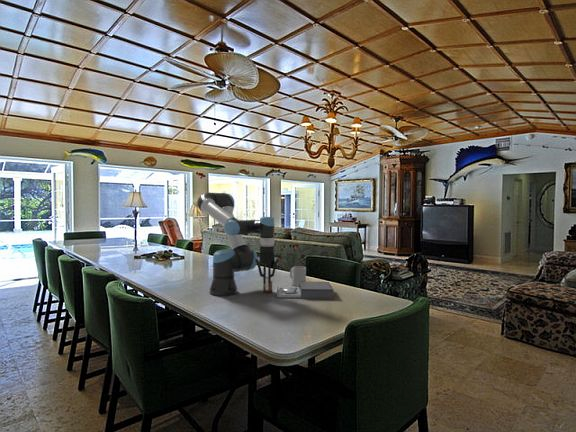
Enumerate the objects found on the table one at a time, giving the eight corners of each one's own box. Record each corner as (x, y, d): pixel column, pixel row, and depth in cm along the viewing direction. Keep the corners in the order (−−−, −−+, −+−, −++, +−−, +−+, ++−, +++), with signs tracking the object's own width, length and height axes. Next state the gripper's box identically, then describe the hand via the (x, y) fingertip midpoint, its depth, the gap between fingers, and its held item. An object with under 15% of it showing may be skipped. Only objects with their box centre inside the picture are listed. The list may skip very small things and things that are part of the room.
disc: (281, 293, 185) (281, 290, 185) (282, 290, 193) (282, 287, 193) (296, 293, 185) (296, 290, 185) (296, 290, 193) (296, 287, 193)
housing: (301, 298, 180) (301, 289, 180) (299, 290, 198) (299, 281, 198) (333, 298, 181) (333, 289, 181) (328, 290, 199) (328, 281, 199)
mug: (308, 285, 211) (308, 267, 210) (298, 287, 205) (299, 269, 204) (295, 281, 219) (295, 264, 219) (285, 283, 214) (285, 266, 213)
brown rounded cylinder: (263, 293, 190) (263, 282, 190) (263, 290, 195) (263, 280, 195) (272, 293, 190) (272, 282, 190) (272, 290, 195) (272, 280, 195)
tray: (276, 297, 181) (277, 289, 181) (277, 289, 197) (277, 282, 197) (308, 297, 181) (308, 290, 181) (306, 290, 197) (306, 283, 197)
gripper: (254, 246, 179) (254, 291, 179) (279, 246, 179) (279, 291, 180) (255, 244, 186) (255, 287, 187) (279, 244, 187) (279, 287, 187)
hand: (266, 289), depth 183 cm, fingers closed
